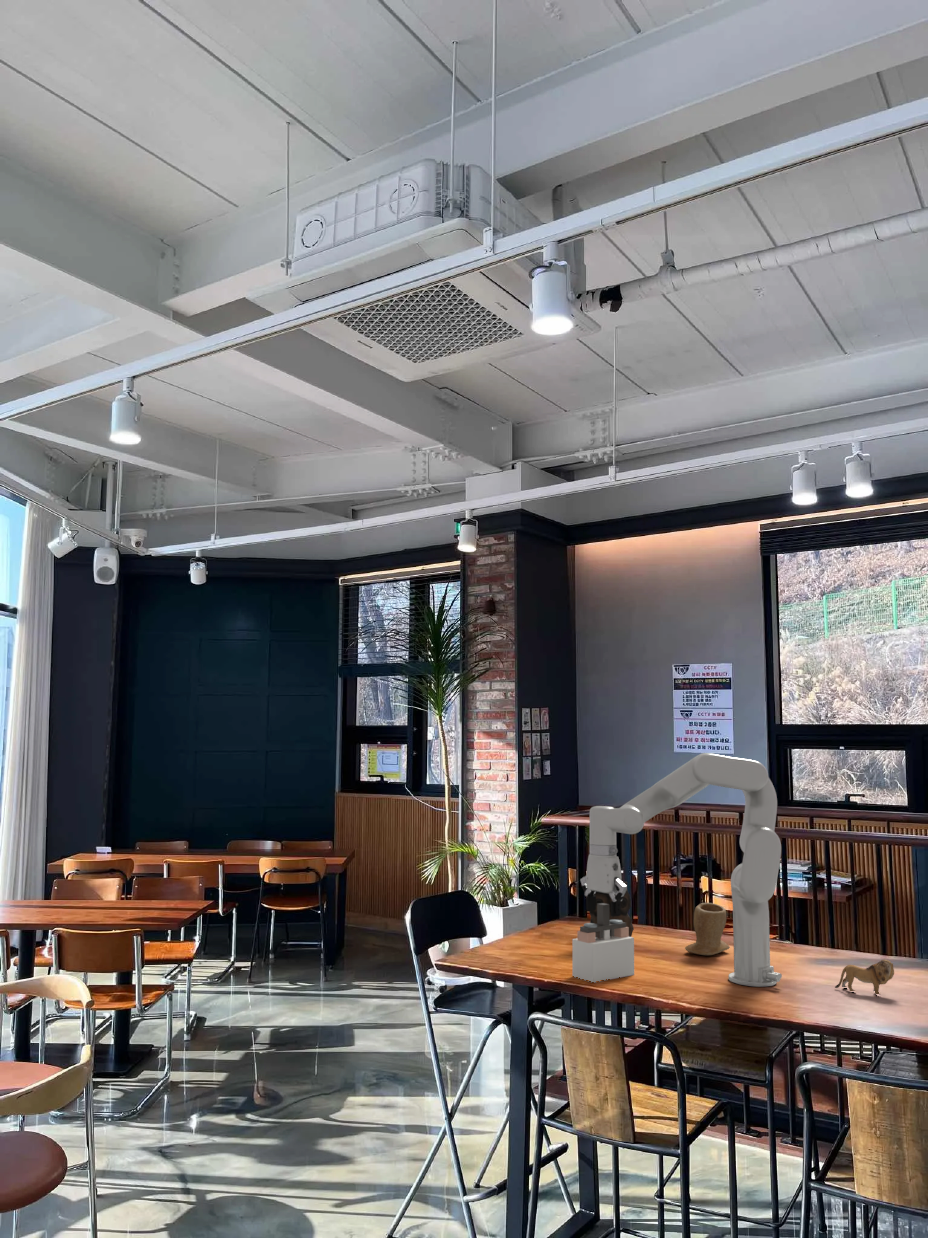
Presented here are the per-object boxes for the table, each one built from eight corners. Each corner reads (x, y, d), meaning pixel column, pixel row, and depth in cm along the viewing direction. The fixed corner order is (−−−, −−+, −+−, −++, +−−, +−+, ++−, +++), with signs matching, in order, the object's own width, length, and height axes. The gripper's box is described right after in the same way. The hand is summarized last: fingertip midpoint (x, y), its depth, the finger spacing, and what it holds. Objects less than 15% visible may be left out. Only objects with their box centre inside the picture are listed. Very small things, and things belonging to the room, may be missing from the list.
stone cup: (714, 960, 280) (713, 909, 282) (680, 954, 289) (679, 903, 291) (740, 953, 291) (739, 903, 293) (706, 947, 299) (705, 898, 301)
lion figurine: (895, 994, 245) (893, 958, 247) (895, 999, 241) (893, 963, 242) (835, 987, 251) (833, 952, 252) (834, 992, 246) (832, 956, 248)
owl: (635, 945, 299) (634, 881, 302) (616, 952, 289) (616, 886, 292) (599, 940, 307) (599, 877, 309) (580, 946, 297) (580, 882, 299)
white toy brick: (634, 975, 262) (633, 928, 263) (592, 982, 252) (592, 934, 254) (613, 969, 268) (613, 924, 270) (572, 976, 259) (572, 929, 260)
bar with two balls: (626, 934, 264) (626, 902, 266) (588, 940, 256) (588, 907, 257) (617, 932, 267) (617, 900, 268) (579, 938, 258) (579, 905, 260)
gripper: (634, 853, 260) (635, 917, 258) (591, 847, 274) (591, 907, 271) (615, 855, 255) (616, 919, 253) (572, 848, 269) (572, 910, 267)
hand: (603, 913), depth 262 cm, fingers open, 9 cm apart
